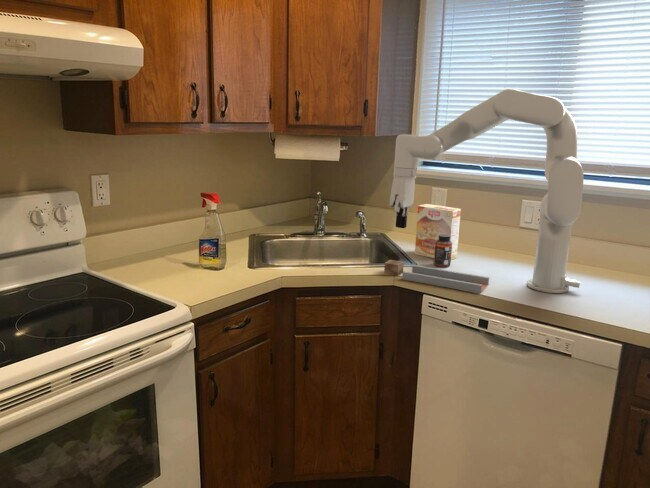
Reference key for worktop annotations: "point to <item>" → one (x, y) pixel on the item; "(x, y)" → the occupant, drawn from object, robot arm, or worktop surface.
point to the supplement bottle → (443, 251)
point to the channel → (447, 278)
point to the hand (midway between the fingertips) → (400, 227)
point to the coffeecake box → (436, 228)
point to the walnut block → (393, 267)
